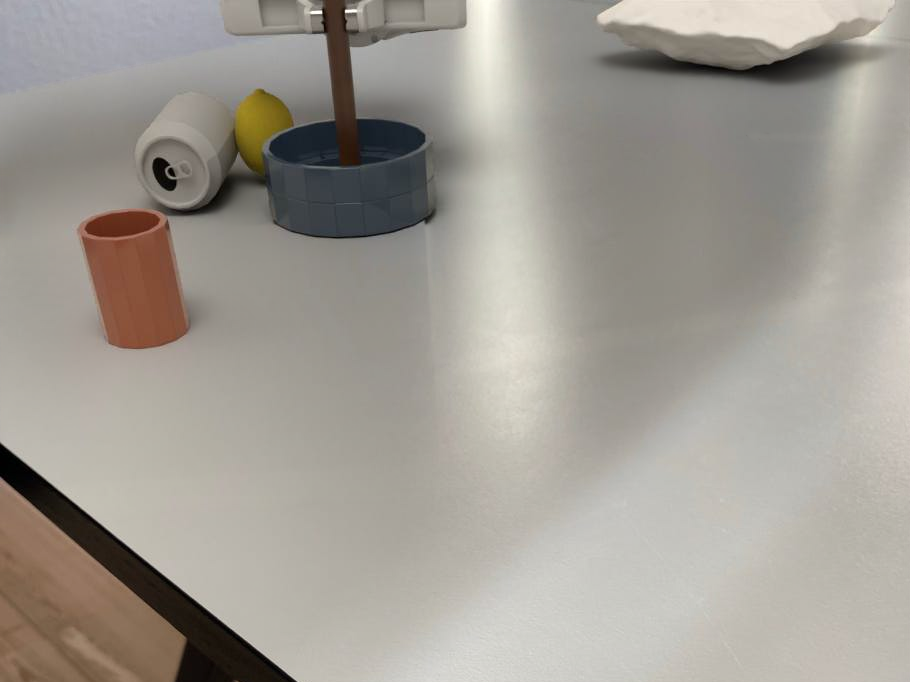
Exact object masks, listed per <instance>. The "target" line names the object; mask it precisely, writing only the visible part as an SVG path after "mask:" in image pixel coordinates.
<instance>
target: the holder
mask: <svg viewBox="0 0 910 682" xmlns="http://www.w3.org/2000/svg"><path fill="white" fill-rule="evenodd" d="M76 233H77V237H78V240H79V244H80V245H79V246H80V249H81V252H82V257H83V259H84V260H83V261H84V263H85V267H86V271H87V275H88V278H89V282H90V287H91V290H92V294H93V298H94V301H95V306H96V308H97V313H98V316H99V320H100V324H101V328H102V332H103V336H104V338H105V339H106V341H107V342H108V343H109V344H110V345H112V346H114V347H116V348H121V349H128V350H144V349H152V348H158V347H161V346H165V345H168V344H170V343H171V344H172V343H173V342H175V341H177V340H179V339H180V338H182V337H184V336H185V335H186V334H187V333H188V331H189V330H190V325H191V323H190V318H189V314H188V309H187V304H186V299H185V294H184V289H183V283H182V279H181V275H180V270H179V266H178V261H177V256H176V251H175V247H174V242H173V236H172V231H171V227H170V221H169V217H167V216H166V215H165V214H164V213H163V212H162V211H158V210H154V209H150V208H124V209H116V210H110V211H106V212H102V213H98V214H95V215H92V216H91V217H89V218H87V219H85V220H82V221H81V222H80V224H79V225H78V227H77V228H76Z"/></svg>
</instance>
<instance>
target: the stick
mask: <svg viewBox="0 0 910 682" xmlns="http://www.w3.org/2000/svg"><path fill="white" fill-rule="evenodd" d="M322 4H323V13H324V22H325V32H326V36H325V41H326V48H327V49H326V50H327V59H328V65H329V66H328V67H329V68H328V69H329V76H330V78H329V79H330V86H331V87H330V88H331V96H332V104H333V106H332V107H333V113H334V119H335V125H336V134H337V143H338V153H339V162H340V166H358V165H361V158H360V147H359V137H358V127H357V117H358V116H357V106H356V97H355V95H356V94H355V85H354V77H353V64H352V56H351V47H350V43H349V33H347V30H346V24H347V20H346V19H345V7H346V1H345V0H322Z"/></svg>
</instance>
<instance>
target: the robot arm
mask: <svg viewBox="0 0 910 682" xmlns="http://www.w3.org/2000/svg"><path fill="white" fill-rule="evenodd" d="M345 1H346V7H345V19H346V20H347V24H346V30H347V33H349V43H350V48H365V47H369V46H372V45H375V44H377V43H379V42H381V40H382V41H389V40H391V39H394V38H396V37H400V36H403V35H407V34H416V33H417V34H418V33H423V32H425V33H426V32H435V31H440V30H443V31H444V30H450V31H453V30H455V31H456V30H462V29H464V28H466V26H467V24H468V19H467V14H468V13H467V12H468V11H467V0H345ZM219 5H220V12H221V18H222V22H223V23H222V24H223V27H224V30H225V32H226V33H227V34H228V35H231V36H235V37H247V36H249V37H251V36H252V37H253V36H276V35H279V36H280V35H281V36H282V35H284V36H285V35H323V36H325V37H326V32H325V22H324V13H323V4H322V0H219Z"/></svg>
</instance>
